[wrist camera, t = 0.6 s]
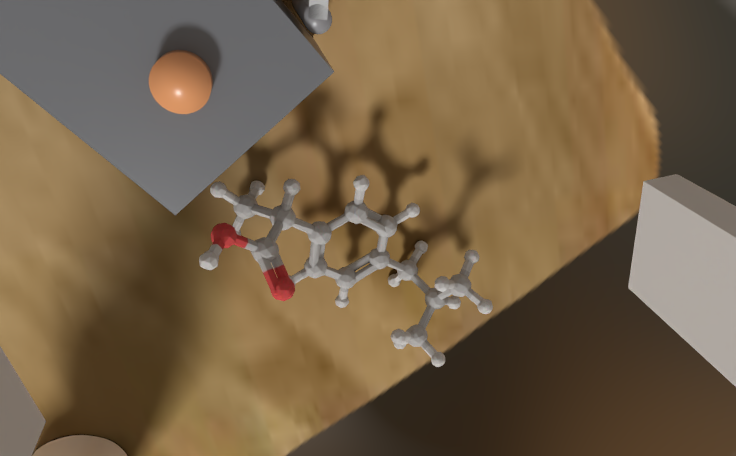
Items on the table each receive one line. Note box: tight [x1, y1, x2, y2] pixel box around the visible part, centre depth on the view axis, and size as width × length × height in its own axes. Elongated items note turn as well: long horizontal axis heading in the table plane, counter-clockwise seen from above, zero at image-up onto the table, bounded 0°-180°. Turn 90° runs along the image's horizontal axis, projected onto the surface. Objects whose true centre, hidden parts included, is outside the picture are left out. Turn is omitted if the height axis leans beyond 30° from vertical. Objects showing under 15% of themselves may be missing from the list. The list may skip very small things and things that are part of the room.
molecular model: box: [199, 175, 493, 367], centre depth 35 cm, size 19×10×10 cm, turn 48°
